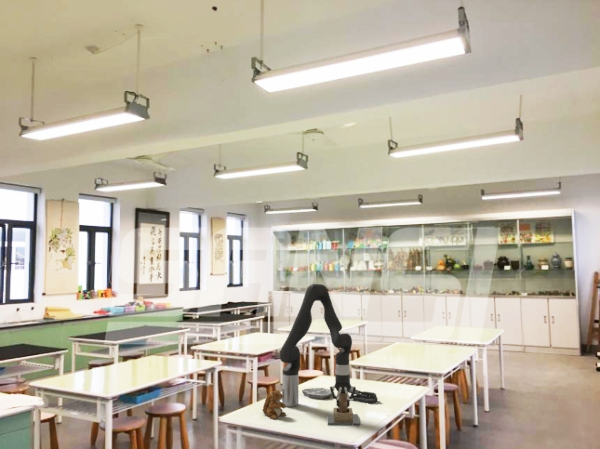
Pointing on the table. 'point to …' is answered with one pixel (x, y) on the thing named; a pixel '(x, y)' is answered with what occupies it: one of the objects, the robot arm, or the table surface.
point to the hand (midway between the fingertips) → (343, 407)
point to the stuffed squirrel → (274, 405)
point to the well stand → (343, 418)
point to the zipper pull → (364, 397)
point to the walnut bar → (342, 402)
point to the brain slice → (317, 393)
